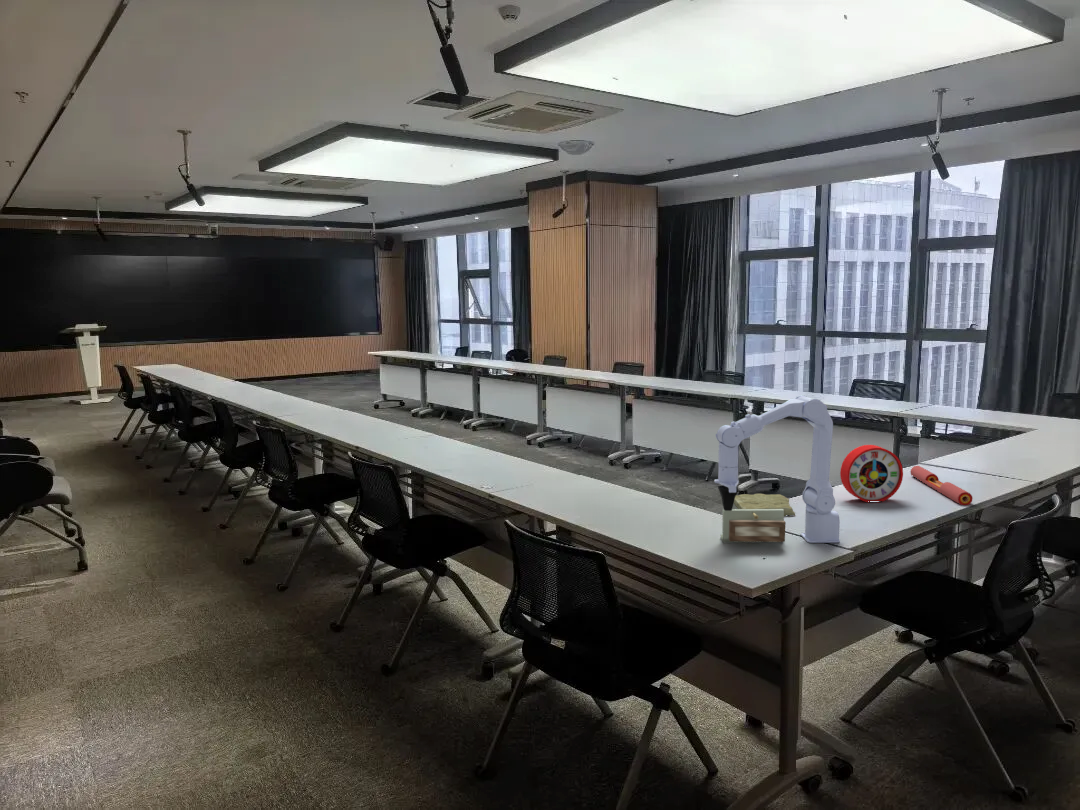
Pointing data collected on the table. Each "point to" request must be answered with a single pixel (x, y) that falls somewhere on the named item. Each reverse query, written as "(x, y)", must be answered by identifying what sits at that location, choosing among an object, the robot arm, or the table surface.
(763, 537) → the picture frame
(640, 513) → the table surface
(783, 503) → the decorative tile
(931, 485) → the blood vessel
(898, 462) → the toy clock
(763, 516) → the curved green slab
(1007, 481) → the table surface
